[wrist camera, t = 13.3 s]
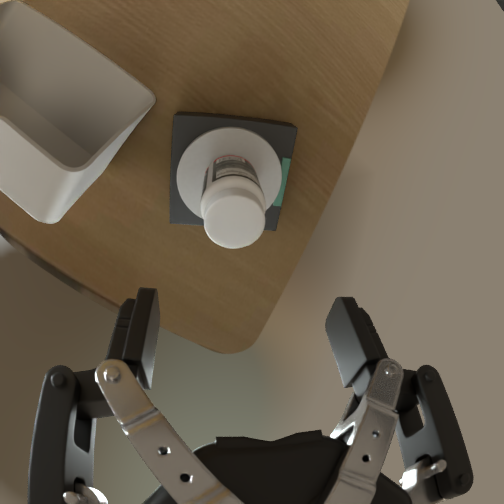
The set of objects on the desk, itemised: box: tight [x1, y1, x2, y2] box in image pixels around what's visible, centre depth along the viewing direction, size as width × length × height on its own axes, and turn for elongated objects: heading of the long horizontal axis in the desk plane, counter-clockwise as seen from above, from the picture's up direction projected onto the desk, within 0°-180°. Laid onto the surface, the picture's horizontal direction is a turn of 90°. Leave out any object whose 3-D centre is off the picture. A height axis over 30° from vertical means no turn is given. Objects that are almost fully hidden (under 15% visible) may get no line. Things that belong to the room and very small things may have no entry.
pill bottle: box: [201, 155, 266, 248], centre depth 22 cm, size 5×5×8 cm
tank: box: [0, 0, 156, 223], centre depth 14 cm, size 25×16×12 cm, turn 44°
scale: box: [170, 112, 298, 231], centre depth 26 cm, size 11×11×3 cm
